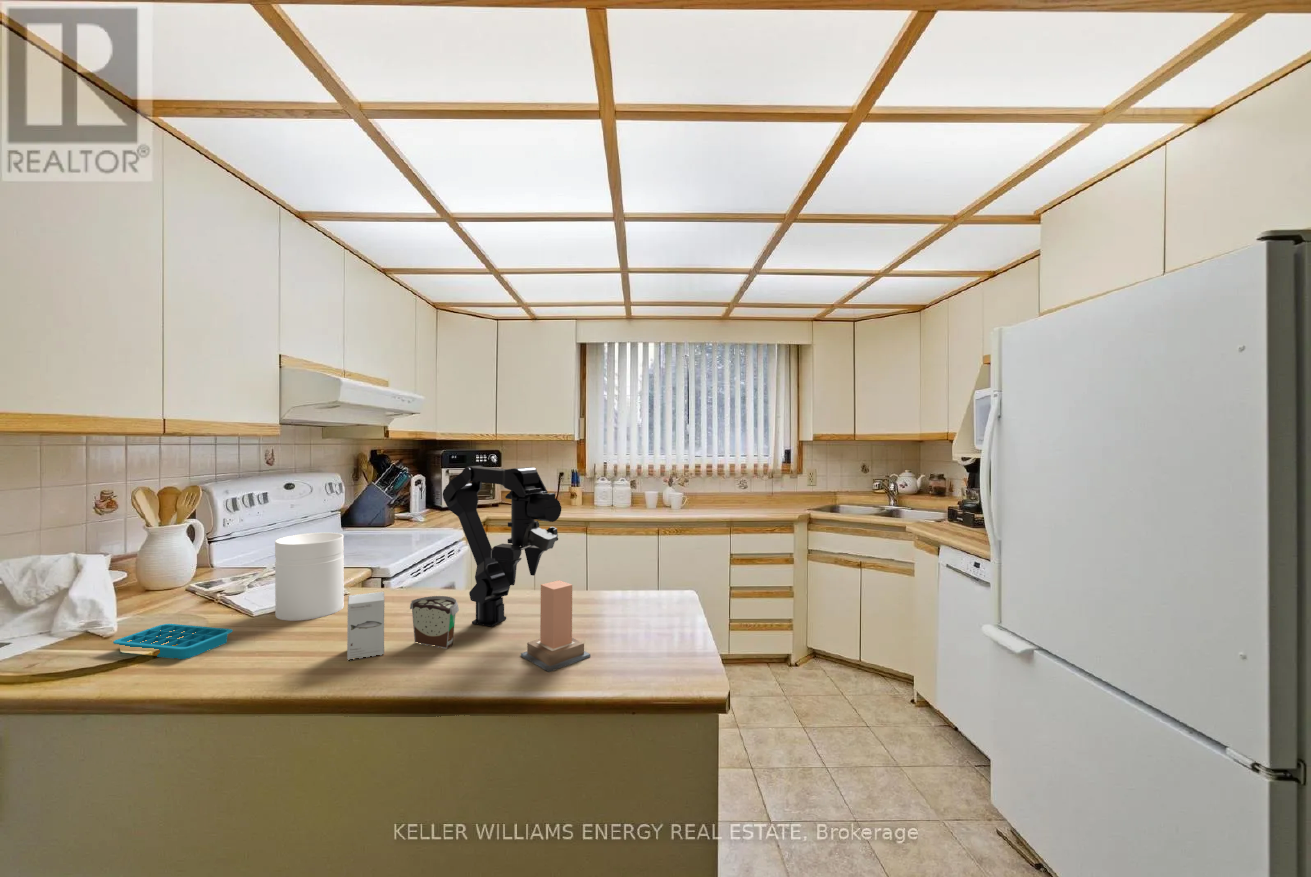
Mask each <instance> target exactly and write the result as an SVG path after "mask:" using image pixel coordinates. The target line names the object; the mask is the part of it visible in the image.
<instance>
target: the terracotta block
mask: <svg viewBox="0 0 1311 877" xmlns="http://www.w3.org/2000/svg"><path fill="white" fill-rule="evenodd" d="M539 631H540V633H539V634H540V635H539V636H540V638H539V639H540V642H541V643H543V644H545V645H547V646H549V647H551V648H553V649H554V648H557V647H560V646H563V645H566V644H569V643H572V638H573V584H571V583H568V582H566V581H562V580H560V579H559V580H555V581H550V582H546V583H542V584H540V630H539Z"/></svg>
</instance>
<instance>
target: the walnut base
mask: <svg viewBox="0 0 1311 877" xmlns="http://www.w3.org/2000/svg"><path fill="white" fill-rule="evenodd" d="M526 644H527V645H526V646H527V647H526V648H527V649H526V650H527V651H524V652H521V653H520V657H522V658H524V659H525V660H527V661H528V662H530V663H532V664H534V665H536V666H538V667H539V668H541V669H543V670H544V671H547V672H548V673H550V672H552V671H555V670H559V669H561V668H564V667H567V666H569V665H571V664H575V663H578V662H580V661H583V660H585V659H588V658H590V657H591V653H589V652H587V651H586V650H585V642H583V641H580V640H578V639H576V638H574V637H572V643H569V644H566V645H563V646H560V647H557V648H554V649H553V648H551V647H549V646H547V645H545V644H543V643H541V642H540V638H538V639H535V640H532V641H528V642H527V643H526Z"/></svg>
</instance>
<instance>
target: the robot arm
mask: <svg viewBox="0 0 1311 877" xmlns="http://www.w3.org/2000/svg"><path fill="white" fill-rule="evenodd" d="M483 483H486V484H494V485H500V486H502V487H504V489H507V490H508V491H510V492H509V493H507V494H506V495H505V496H504V498H505V499H506V500H511V505H510V506H511V509H510V510H511V511H510V512H511V513H510V514H511V515H510V517H511V520H510V521H508V522H507V527H508V528H511V529H510V532H511V533H510V535H511V536H510V538H507V543H501V544H498V545H497V544H496V545H494V546H493V547H492V545H491V542H490V540H489V537H488V536H487V533H486V530H485V528H484V525H483V523H482V520H481V518H480V515H479V512H478V510H477V509H478V504H479V496H478V494H479V492H480V491H481V489H482V488H483V487H482V484H483ZM442 498H443V501H444V503H445V505H446V507H447V508H448V510H449V511H450V512H452V514H454V515H456V516H457V518H458V519H459V522H460V525H461V527H462V530H463V533H464V535H465V538H466V541H467V543H468V546H469V548H470V552H471V554H472V556H473V559H474V561H475V563H476V568H475V573H474V574H475V575H474V580H475V584H474V586H473V587H472V588H471V590H470V591H469V592H468V594H469V598H470V601H471V602H475V619H474V620H472V621H471V624H473V625H479V626H480V625H481V626H484V627H485V626H487V627H494V626H496V625H498V624H499V623H502V622H503V621H505V620H506V619H507V616H505V603H504V597H506V596H508V595H509V592H510V588H511V586H514V585H515V584H516V578H517V577H516V576H517V566H518V564H519V562H520V561H521V560H522V557H521V556H522V551H523V550H524V553H525V558H526V562H527V567H528V571H529V574H530V576H535V575H536V572H537V569H538V567H539V564H540V560H541V558H542V554H543V553H545V552H547V551H548V550H550V549H553V548H554V546H555V543H556V542H557V541H559V538H558V536H559V535H558V534H559V533H558V528H557V527H555V526H550V527H548V528H541V527H540V522H539V521H542V522H548V523H549V522H550V523H553V522H556V521H558V519H560V516H561V513H562V505H561V502H560V501H559V499H558V498H556V493H555V492H550V493H549V492H548V490H547V488H546V486H545V484H544V483H543V480H542V479H541V476H540V475H539V472H538V471H537V468H535V467H532V466H530V467H529V466H528V467H527V466H526V467H516V468H515V467H514V468H513V467H512V468H507V469H506V468H497V467H489V466H488V467H487V466H482V465H469V466H466V467H465V468H463V470H462V471H461V472H460V473H459V474H458V475H457V476H455V477H453V478H452V479H451V480H449V482H448V483H447V485H446V486H445V487H444V489H443V491H442Z"/></svg>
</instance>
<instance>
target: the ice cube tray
mask: <svg viewBox="0 0 1311 877" xmlns="http://www.w3.org/2000/svg"><path fill="white" fill-rule="evenodd" d="M160 630H161V631H160ZM173 630H175V631H173ZM233 630H234V629H231V628H224V627H223V628H222V627H213V626H202V625H201V626H200V625H199V626H198V625H189V624H177V623H163V624H159V625H156V626H153V627H150V628H147V629H144V630H141V631H139V632H136V633H132V634H129V635H127V636H123V637H121V638H117V639H115V640H113V642H112V643H113V644H114V645H125V646H130V647H142V648H154V649H159V650H160V653H159V654H158V655H157V657H156V658H167V659H174V658H178V659H177V660H187V659H186V658H188V659H191V658H193V657H196V656H198V655H201V654H203V653H205V651H206V652H208V651H210V650H209V649H211V650H213V649H216V648H218V647H220V646H222V645H225V644H227V642H228V636H229V635H228V634H231V633H232V632H233ZM169 631H172V632H169ZM183 631H185V632H183ZM181 632H183V633H181ZM195 632H196V633H195ZM192 633H194V634H192ZM160 635H161V636H160ZM156 636H158V637H156ZM168 636H172V637H169V638H166V637H168ZM182 636H184V637H183V638H180V639H177V638H179V637H182ZM129 640H132V641H130V642H127V641H129ZM145 640H147V641H145ZM142 641H144V642H142ZM155 641H158V642H155ZM168 641H169V643H167V644H164V645H161V644H163V643H166V642H168ZM140 642H141V643H140ZM153 642H155V643H153ZM151 643H152V644H151ZM176 644H178V645H176ZM172 645H176V646H172ZM219 645H220V646H219ZM207 650H208V651H207Z"/></svg>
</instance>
